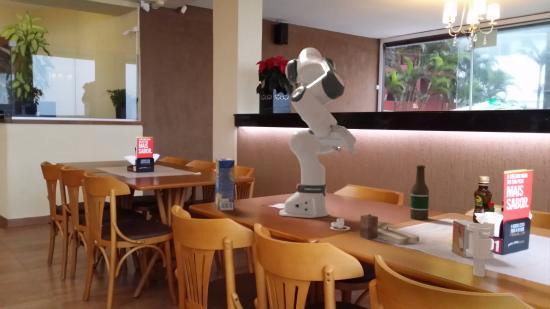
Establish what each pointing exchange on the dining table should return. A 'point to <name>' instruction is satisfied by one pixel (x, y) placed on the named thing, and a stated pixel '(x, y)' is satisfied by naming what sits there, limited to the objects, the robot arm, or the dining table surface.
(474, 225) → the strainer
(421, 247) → the dining table surface
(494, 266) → the dining table surface
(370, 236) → the block
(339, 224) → the white curved piece
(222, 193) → the juice carton
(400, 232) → the ash board
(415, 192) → the beer bottle
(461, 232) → the small box
